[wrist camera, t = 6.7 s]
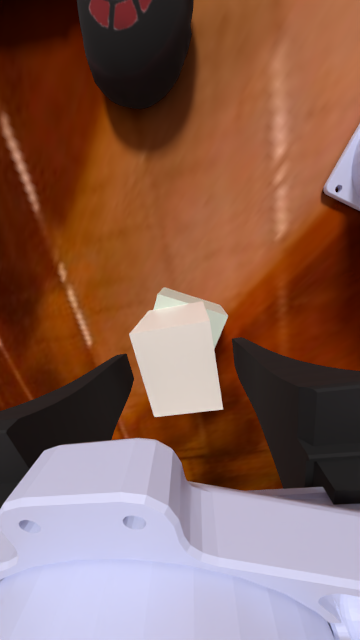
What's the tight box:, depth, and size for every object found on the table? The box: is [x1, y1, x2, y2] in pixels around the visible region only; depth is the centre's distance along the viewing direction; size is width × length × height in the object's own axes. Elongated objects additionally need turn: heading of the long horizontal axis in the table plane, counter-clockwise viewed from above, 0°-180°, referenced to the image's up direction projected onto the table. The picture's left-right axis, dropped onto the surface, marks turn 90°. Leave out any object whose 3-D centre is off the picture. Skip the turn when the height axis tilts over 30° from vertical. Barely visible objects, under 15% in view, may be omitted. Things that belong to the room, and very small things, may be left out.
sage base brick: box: [154, 287, 228, 349], centre depth 17 cm, size 6×6×4 cm
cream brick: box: [129, 301, 223, 417], centre depth 13 cm, size 4×6×5 cm
